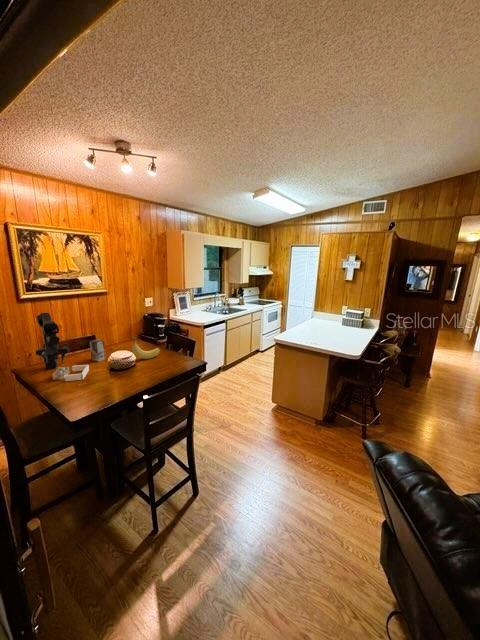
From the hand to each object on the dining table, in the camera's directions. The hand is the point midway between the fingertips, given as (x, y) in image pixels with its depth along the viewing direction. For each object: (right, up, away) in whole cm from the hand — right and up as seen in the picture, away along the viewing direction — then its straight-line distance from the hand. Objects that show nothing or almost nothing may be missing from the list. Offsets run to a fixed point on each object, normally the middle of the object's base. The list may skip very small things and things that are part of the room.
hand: (54, 362), depth 183 cm
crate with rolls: (+2, -10, +3) cm, 11 cm away
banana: (+49, -3, +40) cm, 64 cm away
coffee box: (+11, -3, +35) cm, 37 cm away
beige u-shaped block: (+12, -10, +6) cm, 17 cm away
